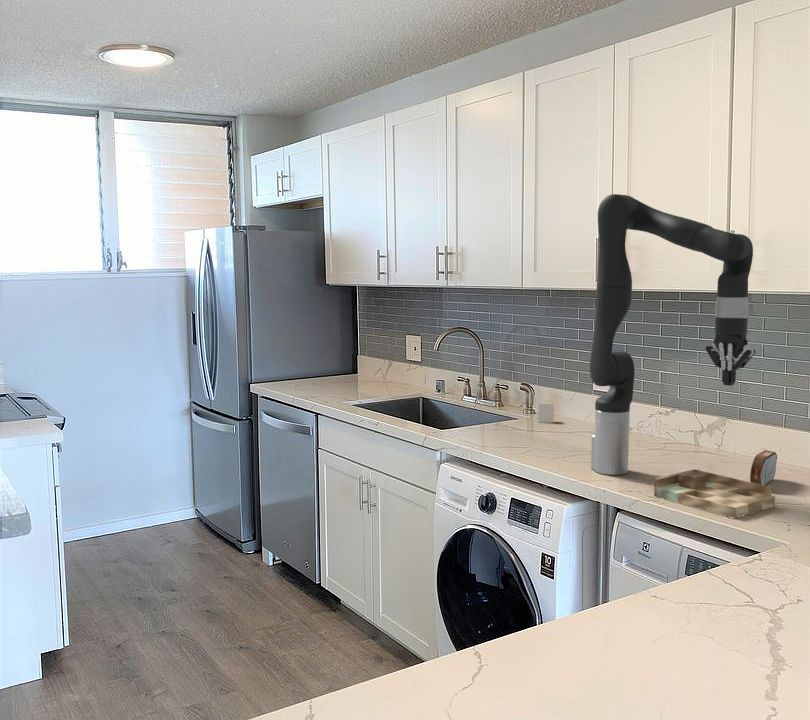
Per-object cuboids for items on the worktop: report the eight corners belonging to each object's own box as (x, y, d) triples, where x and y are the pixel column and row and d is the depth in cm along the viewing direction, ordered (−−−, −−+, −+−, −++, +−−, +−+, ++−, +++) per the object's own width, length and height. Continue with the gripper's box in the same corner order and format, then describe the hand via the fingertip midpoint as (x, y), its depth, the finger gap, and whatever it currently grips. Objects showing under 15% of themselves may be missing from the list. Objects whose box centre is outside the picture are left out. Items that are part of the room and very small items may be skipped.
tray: (654, 496, 201) (654, 478, 201) (694, 486, 210) (694, 469, 210) (734, 518, 183) (734, 499, 183) (774, 506, 192) (775, 488, 192)
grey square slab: (539, 422, 300) (539, 402, 299) (557, 423, 298) (558, 402, 297) (537, 423, 297) (537, 403, 296) (556, 424, 295) (557, 404, 294)
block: (678, 486, 202) (679, 474, 201) (690, 483, 204) (690, 471, 204) (694, 489, 198) (694, 477, 198) (705, 486, 200) (706, 474, 200)
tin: (765, 477, 219) (767, 446, 218) (778, 479, 217) (779, 448, 216) (748, 489, 207) (749, 457, 206) (761, 491, 205) (762, 458, 204)
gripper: (698, 314, 204) (696, 383, 206) (746, 317, 193) (743, 389, 195) (717, 313, 208) (714, 380, 210) (765, 316, 197) (761, 387, 199)
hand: (728, 385), depth 203 cm, fingers closed
